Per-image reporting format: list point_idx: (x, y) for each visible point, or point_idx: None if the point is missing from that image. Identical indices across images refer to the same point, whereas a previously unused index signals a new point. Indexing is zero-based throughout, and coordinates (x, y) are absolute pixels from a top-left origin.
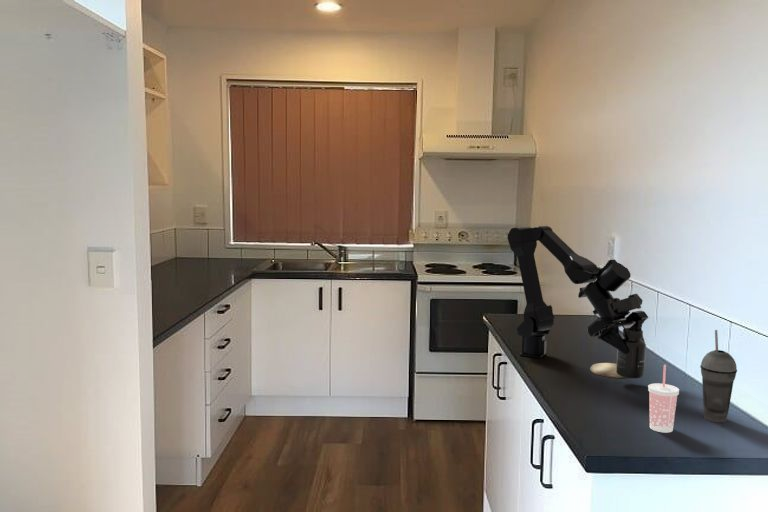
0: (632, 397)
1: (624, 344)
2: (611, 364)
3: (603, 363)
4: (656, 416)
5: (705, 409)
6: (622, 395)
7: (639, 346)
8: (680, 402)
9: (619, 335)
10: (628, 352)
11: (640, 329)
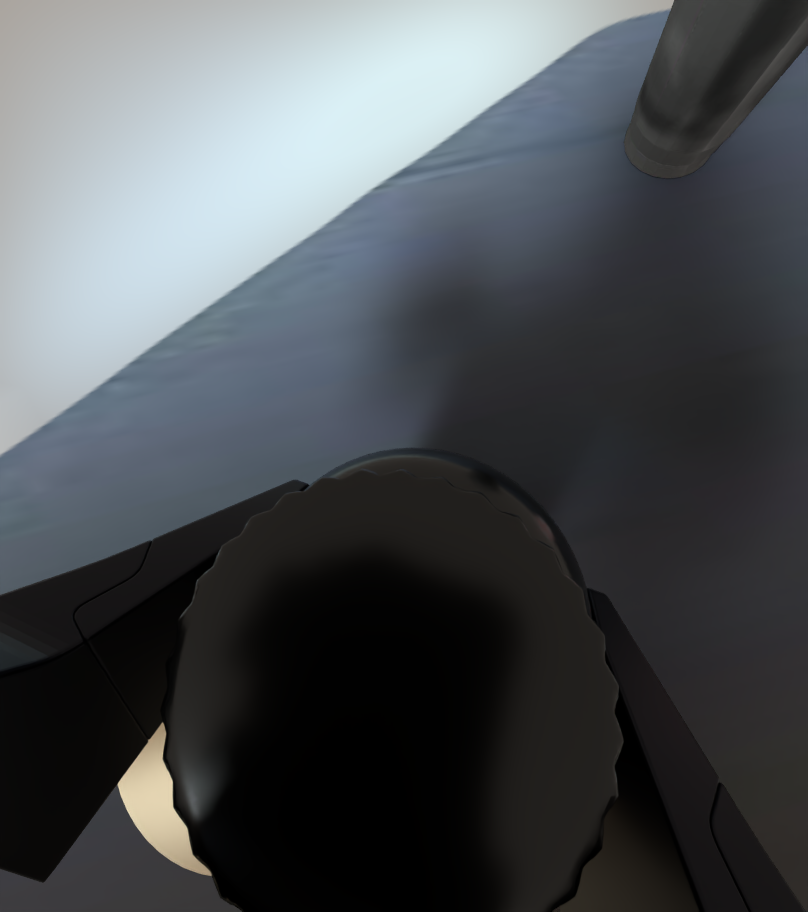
0: (638, 489)
1: (641, 680)
2: (142, 760)
3: (144, 816)
4: None
5: (741, 122)
6: (643, 542)
7: (521, 490)
8: (548, 294)
9: (729, 900)
10: (596, 591)
11: (24, 608)
